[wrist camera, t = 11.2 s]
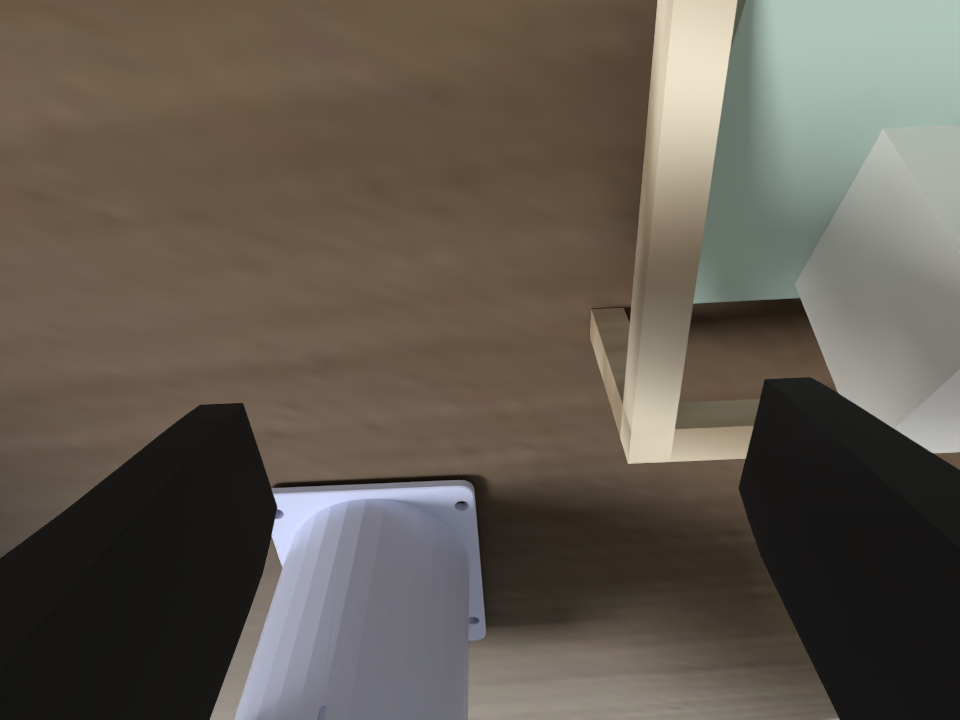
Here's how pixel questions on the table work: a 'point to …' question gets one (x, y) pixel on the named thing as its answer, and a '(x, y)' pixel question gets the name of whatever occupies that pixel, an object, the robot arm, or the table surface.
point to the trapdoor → (813, 125)
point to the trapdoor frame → (673, 251)
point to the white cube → (895, 286)
